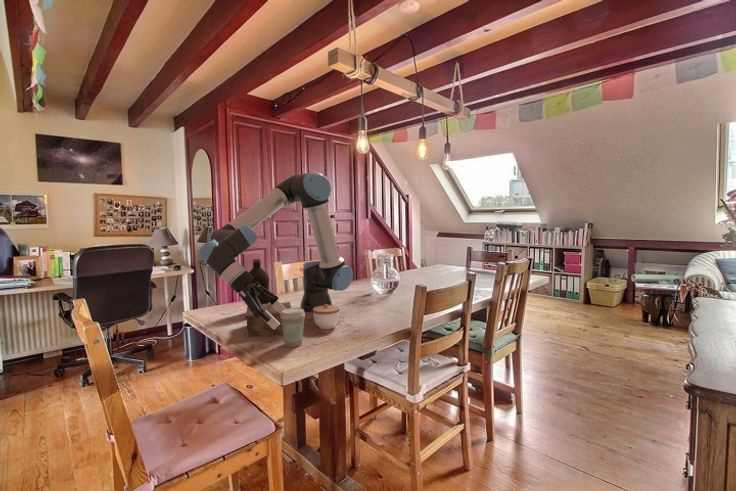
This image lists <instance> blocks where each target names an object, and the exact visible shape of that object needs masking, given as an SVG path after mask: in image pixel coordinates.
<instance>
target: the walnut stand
mask: <svg viewBox="0 0 736 491" xmlns="http://www.w3.org/2000/svg"><path fill="white" fill-rule="evenodd" d="M280 303H281V304H282V305H283V306H284V307H285V308H286V309H288V308H292V306H291V302H290V301H289V302H288V301H287V302H280ZM261 305H262V307H263V309H264V311H265V310H267V311H268V312H269V313H270V314H271V315H272V316H273V317H274V318H275V319H276V320H277V321H278V322H279V323H280V325H279V326H278V327H277V328H276V329H275V330H273V329H272V328H271V327H270V326H269V325H268V324H267V323H266V322H265V321H264V320H263V319H262V318H261V317H260V316H259V317H258V318H256V317H255V316H254V315H253V314H252V312H251V311H250V309H249V308H248V307H247V309H246V313H245V315H244V316H245V317H244V318H245V319H246V326H247V327H246V328H247V329H246V332H247V337H248V338H249V337H259V336H269V335H270V336H271V335H279V334H280V335H281V334H283V327H282V320H281V318H280V316H281V314H280V313H279V312H278V311H277V310H275V309H274V308H273V307H272V304H270V303H269V304H261Z"/></svg>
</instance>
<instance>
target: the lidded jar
mask: <svg viewBox="0 0 736 491" xmlns="http://www.w3.org/2000/svg"><path fill="white" fill-rule="evenodd" d="M340 308H341V307H339V306H338V305H335V304H334V305H333V304H332V305H327V304H325V305H321V306H316V307H314V308H313V311H312V316H313V317H312V318H313V322H314V323H315V325H316V326H317V327H318V329H320V330H332V329H334V328H335V326H336V325H337V324H338V323H339V319H340Z"/></svg>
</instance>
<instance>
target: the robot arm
mask: <svg viewBox="0 0 736 491" xmlns="http://www.w3.org/2000/svg"><path fill="white" fill-rule="evenodd" d="M331 192H332V185H331V183H330V180H329V179H328V178H327V176H326V175H324V174H322V173H320V172H307V173H302V174H301V173H300V174H293V175H291V176H289V177H287V178H286V179H284V180H283V181H281V182H280V183H278V184H277V185H275V186H274V187H273V188H272V189H271V190H270V193H269V194H268V195H266V196H264V197H263V198H261V199H260V200H258V201H257V202H256V203H254V204H253V205H251V206H250V207H248V208H247V209H246V210H244V211H243V212H241V213H240V214H239V215H237V216H236V217H234V218H233V219H232V220H231V221H229V222H227V223H226V224H225V225H223V226H222V227H220V228H218V229H214V230H212V231H210V232H209V233H208V235H207V239H206V240H207V242H205V243H204V244H203V245H202V246H201V247H200V248H199V250H198V256H199V258H200V259H201V260H202V261H203V262H204V263H205V264H206V265H207V266H208V267H209V268H210V269H211V270H212V271H213V272H214V273H215V274H217V275H218V276H219V277H220V278H221V279H222V282H225V283H226V284H227V285H229V286H230V288H231V289H232V290H233V291H235V293H237V294H238V296H239V297H241V299H242V301H243V302H244V303H245V304H246V306H248V308H249V309H250V311H251V312H252V314H253V315H254V316H255V317H256V318H258V317H259V316H260V317H261V318H262V319H263V320H264V321H265V322H266V323H267V324H268V325H269V326H270V327H271V328H272V329H273V330H275V329H276V328H277V327H278V326H279V325H280V323H279V322H278V321H277V320H276V319H275V318H274V317H273V316H272V315H271V314H270V313H269V312H268V311H267V310H265V311H264V309H263V307H262V305H261V303H260V301H259V299H258V298H260V299H262V300H264V301H266V302H268V303H269V304H272V307H273V308H274V309H275V310H277V311H278V312H279V313H280V314H281V312H282V310H284V309H286V308H285V307H284V306H283V305H282V304H281V303H282V302H280V301H279V296H277V295H276V294H274V293H273V292H271V291H270V290H269V291H268V290H267V289H266V288H264V287H263V286H261V285H260V284H259V283H258V282H256V283H255V284H253V283H252V281H253V279H254V277H253V276H252V275H251V274H250V273H249V272H250V271H248V270H246V268H245V267H244V266H243V265H242V264H241V263H240V262H239V261H238V260H236V258H237V257H238V256H240V255H241V254H242V253H244V252H245V251H246V250H247V249H249V248H250V247H252V245H254V244H255V242H257V240H258V236H257V234H256V231H255V230H254V229H255V228H257V227H258V226H259V225H260V224H261V223H263V222H264V221H265V220H267V219H268V218H270V217H271V216H272V215H274V214H275V213H276V212H278V211H279V210H280V209H281V208H287V207H289V205H292V204H294V203H298V202H300V204H301V208H302V209H303V210H305V211H306V212H307V216H308V219H309V222H310V226H311V229H312V232H313V236H314V241H315V243H316V248H317V250H318V255H319V258H320V259H319V260H312V261H305V262H304V264H303V269H302V272H303V273H302V274H303V293H302V294H303V295H302V298H301V300H300V301H301V302H300V308H301V309H303V310H304V312H305V311H306V312H313V308H314V307H316V306H321V305H325V304H327V305H333V302H332V299H331V296H330V293H329V290H333V291H335V292H338V291H339V292H342V291H346V290H347V289H349V287H350V286H351V284H352V281H353V278H354V277H353V276H354V273H353V269H352V267H350V266H349V265H346V262H345V259H344V258H343V257H342V256H340V252H339V249H338V246H337V241H336V237H335V233H334V230H333V226H332V222H331V219H330V215H329V210H328V206H327V205H329V202H330V201H329V197H330V196H331Z"/></svg>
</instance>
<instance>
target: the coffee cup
mask: <svg viewBox="0 0 736 491" xmlns="http://www.w3.org/2000/svg"><path fill="white" fill-rule="evenodd" d="M305 317H306V313H305V310H303V309H301V307H291V308H288V309H284V310H282V312H281V316H280V318H281V320H282V327H283V333H282V334H283V339H284V345H285V347H287V348H296V347H299V346H301V345H302V344H303V338H304V328H305V327H304V325H305Z"/></svg>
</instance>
